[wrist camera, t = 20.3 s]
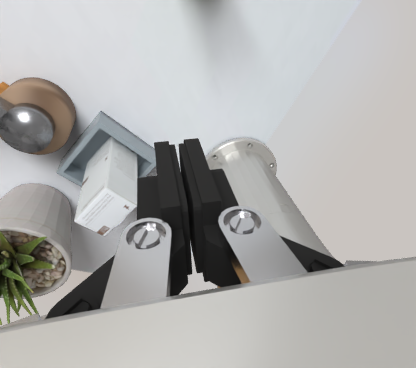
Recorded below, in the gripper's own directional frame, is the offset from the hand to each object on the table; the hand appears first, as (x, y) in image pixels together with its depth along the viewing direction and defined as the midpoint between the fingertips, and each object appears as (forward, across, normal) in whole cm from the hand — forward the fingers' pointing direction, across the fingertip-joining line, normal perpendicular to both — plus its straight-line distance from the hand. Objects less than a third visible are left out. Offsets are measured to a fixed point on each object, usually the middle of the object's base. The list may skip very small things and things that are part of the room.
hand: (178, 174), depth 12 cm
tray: (+29, +7, +14) cm, 33 cm away
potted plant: (+29, +19, +21) cm, 41 cm away
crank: (+25, +17, +5) cm, 30 cm away
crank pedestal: (+29, +14, +7) cm, 33 cm away
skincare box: (+29, +7, +14) cm, 33 cm away
